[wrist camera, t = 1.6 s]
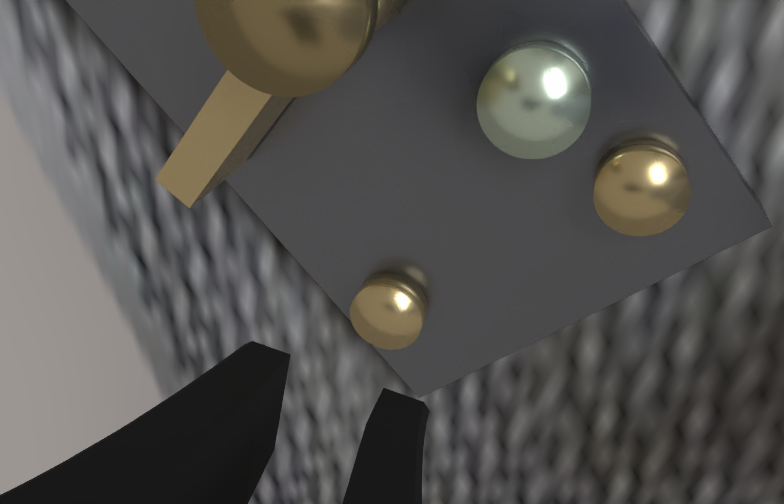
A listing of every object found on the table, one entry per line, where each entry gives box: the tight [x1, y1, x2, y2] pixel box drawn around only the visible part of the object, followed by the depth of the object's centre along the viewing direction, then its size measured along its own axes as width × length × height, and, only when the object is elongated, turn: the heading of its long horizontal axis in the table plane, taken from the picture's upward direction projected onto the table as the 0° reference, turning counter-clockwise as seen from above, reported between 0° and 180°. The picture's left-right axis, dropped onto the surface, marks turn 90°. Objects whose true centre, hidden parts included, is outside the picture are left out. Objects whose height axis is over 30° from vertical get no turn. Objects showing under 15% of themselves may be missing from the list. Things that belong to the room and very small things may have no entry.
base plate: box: [66, 0, 772, 398], centre depth 16 cm, size 16×10×3 cm, turn 41°
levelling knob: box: [155, 0, 405, 208], centre depth 14 cm, size 7×3×4 cm, turn 141°
